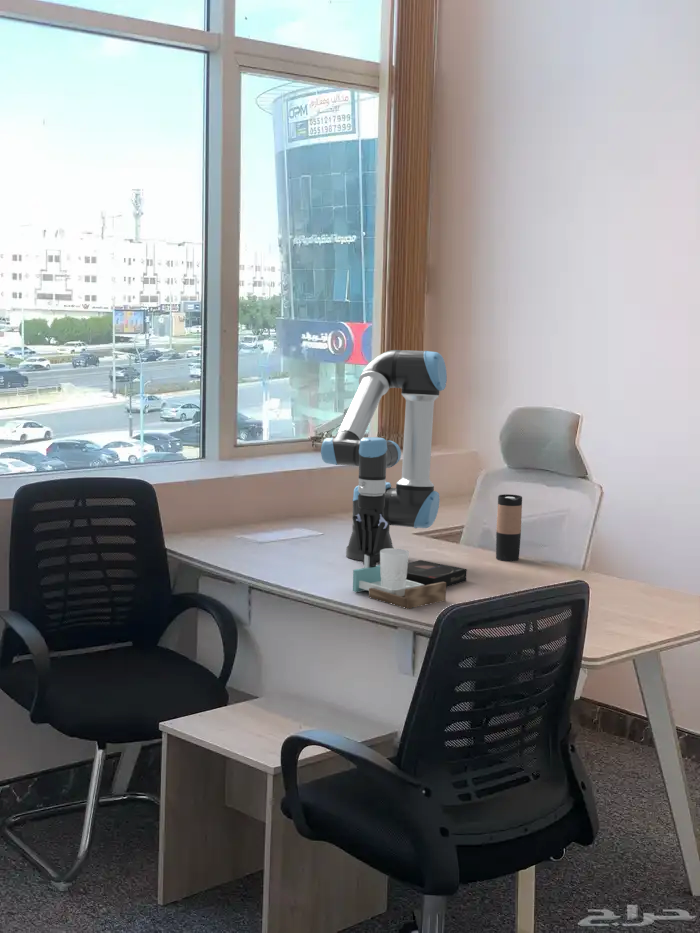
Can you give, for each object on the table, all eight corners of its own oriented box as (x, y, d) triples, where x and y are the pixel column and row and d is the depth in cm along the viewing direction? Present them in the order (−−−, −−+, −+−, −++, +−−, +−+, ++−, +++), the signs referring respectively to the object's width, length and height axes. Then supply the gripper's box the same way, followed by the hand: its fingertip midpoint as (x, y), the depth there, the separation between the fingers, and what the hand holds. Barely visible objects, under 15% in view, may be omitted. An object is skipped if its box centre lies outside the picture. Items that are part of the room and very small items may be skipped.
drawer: (406, 589, 324) (407, 572, 324) (445, 600, 314) (446, 582, 313) (368, 597, 315) (369, 579, 314) (407, 608, 304) (408, 590, 303)
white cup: (374, 584, 320) (375, 549, 319) (400, 583, 323) (401, 547, 322) (385, 591, 313) (386, 555, 312) (412, 589, 316) (413, 553, 314)
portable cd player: (417, 572, 347) (418, 559, 347) (466, 582, 337) (466, 569, 336) (384, 582, 334) (384, 568, 334) (433, 592, 324) (433, 578, 323)
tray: (389, 583, 329) (390, 563, 328) (427, 594, 318) (427, 573, 317) (352, 591, 320) (353, 569, 319) (390, 602, 309) (390, 580, 308)
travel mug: (501, 555, 372) (503, 493, 369) (523, 558, 368) (526, 496, 365) (491, 559, 366) (493, 496, 363) (513, 562, 362) (516, 499, 359)
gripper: (345, 491, 324) (343, 574, 327) (377, 498, 314) (375, 583, 317) (365, 489, 329) (363, 571, 332) (397, 495, 319) (395, 580, 322)
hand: (369, 577), depth 324 cm, fingers closed
